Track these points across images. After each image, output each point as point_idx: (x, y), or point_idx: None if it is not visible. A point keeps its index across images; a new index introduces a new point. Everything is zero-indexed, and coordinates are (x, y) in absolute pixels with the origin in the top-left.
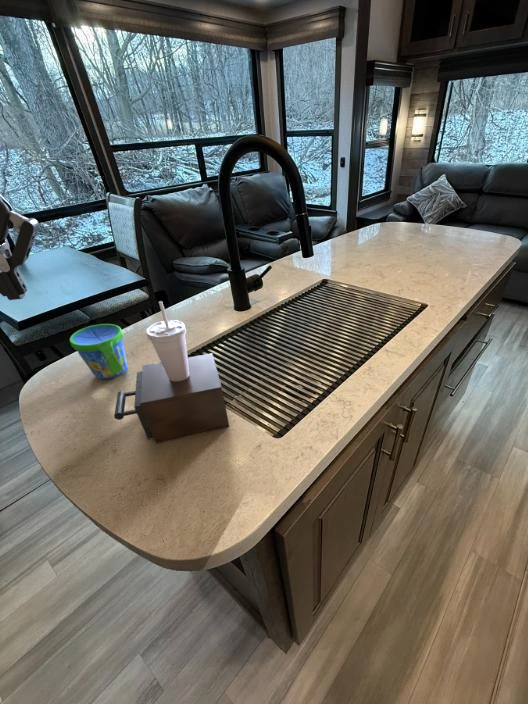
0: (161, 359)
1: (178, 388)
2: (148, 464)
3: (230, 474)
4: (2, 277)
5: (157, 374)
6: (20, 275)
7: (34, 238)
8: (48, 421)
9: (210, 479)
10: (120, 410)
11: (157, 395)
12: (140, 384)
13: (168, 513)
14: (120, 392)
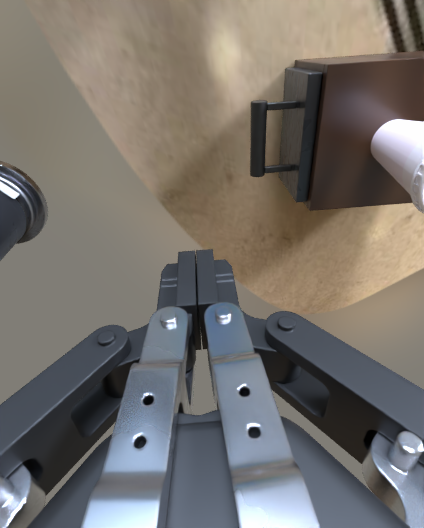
0: (393, 176)
1: (376, 185)
2: (273, 213)
3: (359, 249)
4: (200, 335)
5: (352, 121)
6: (236, 292)
7: (400, 376)
8: (92, 59)
9: (337, 250)
10: (262, 168)
11: (339, 196)
12: (311, 133)
13: (289, 277)
14: (260, 108)
